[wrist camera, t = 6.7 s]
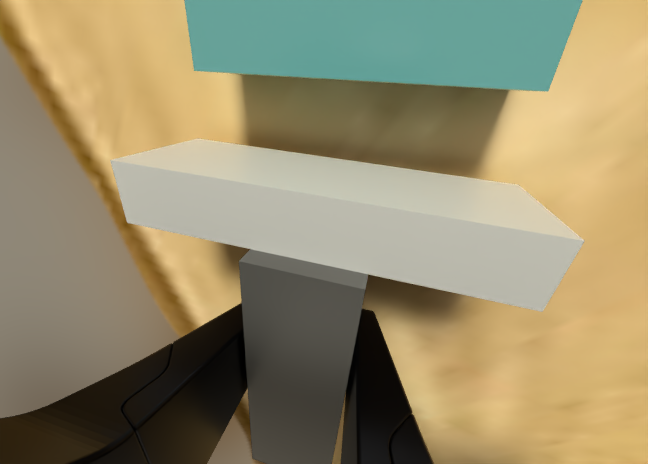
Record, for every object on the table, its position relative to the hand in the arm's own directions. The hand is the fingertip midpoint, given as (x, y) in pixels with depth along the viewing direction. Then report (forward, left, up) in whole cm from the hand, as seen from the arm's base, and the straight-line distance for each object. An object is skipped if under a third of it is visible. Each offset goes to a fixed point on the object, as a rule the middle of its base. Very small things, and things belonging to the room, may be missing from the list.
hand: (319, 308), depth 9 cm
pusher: (0, 0, -1) cm, 1 cm away
